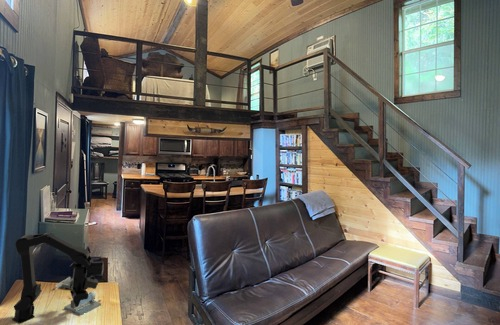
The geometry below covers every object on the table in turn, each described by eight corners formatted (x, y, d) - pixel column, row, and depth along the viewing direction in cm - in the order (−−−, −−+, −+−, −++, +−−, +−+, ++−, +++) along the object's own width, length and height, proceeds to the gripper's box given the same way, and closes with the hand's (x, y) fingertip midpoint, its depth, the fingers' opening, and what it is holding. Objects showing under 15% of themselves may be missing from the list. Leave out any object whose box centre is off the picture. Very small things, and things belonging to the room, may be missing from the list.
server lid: (80, 315, 142) (80, 311, 142) (64, 308, 147) (64, 304, 147) (101, 305, 153) (101, 301, 153) (85, 299, 158) (85, 295, 158)
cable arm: (73, 309, 144) (74, 301, 144) (69, 307, 145) (70, 300, 145) (96, 298, 156) (96, 292, 156) (92, 297, 157) (93, 290, 157)
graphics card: (54, 284, 165) (69, 276, 177) (53, 291, 165) (68, 282, 177) (81, 289, 163) (94, 280, 175) (80, 295, 163) (93, 286, 175)
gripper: (101, 279, 140) (98, 311, 140) (94, 266, 155) (91, 295, 155) (75, 284, 133) (71, 317, 133) (70, 269, 148) (67, 299, 148)
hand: (76, 306), depth 142 cm, fingers closed
